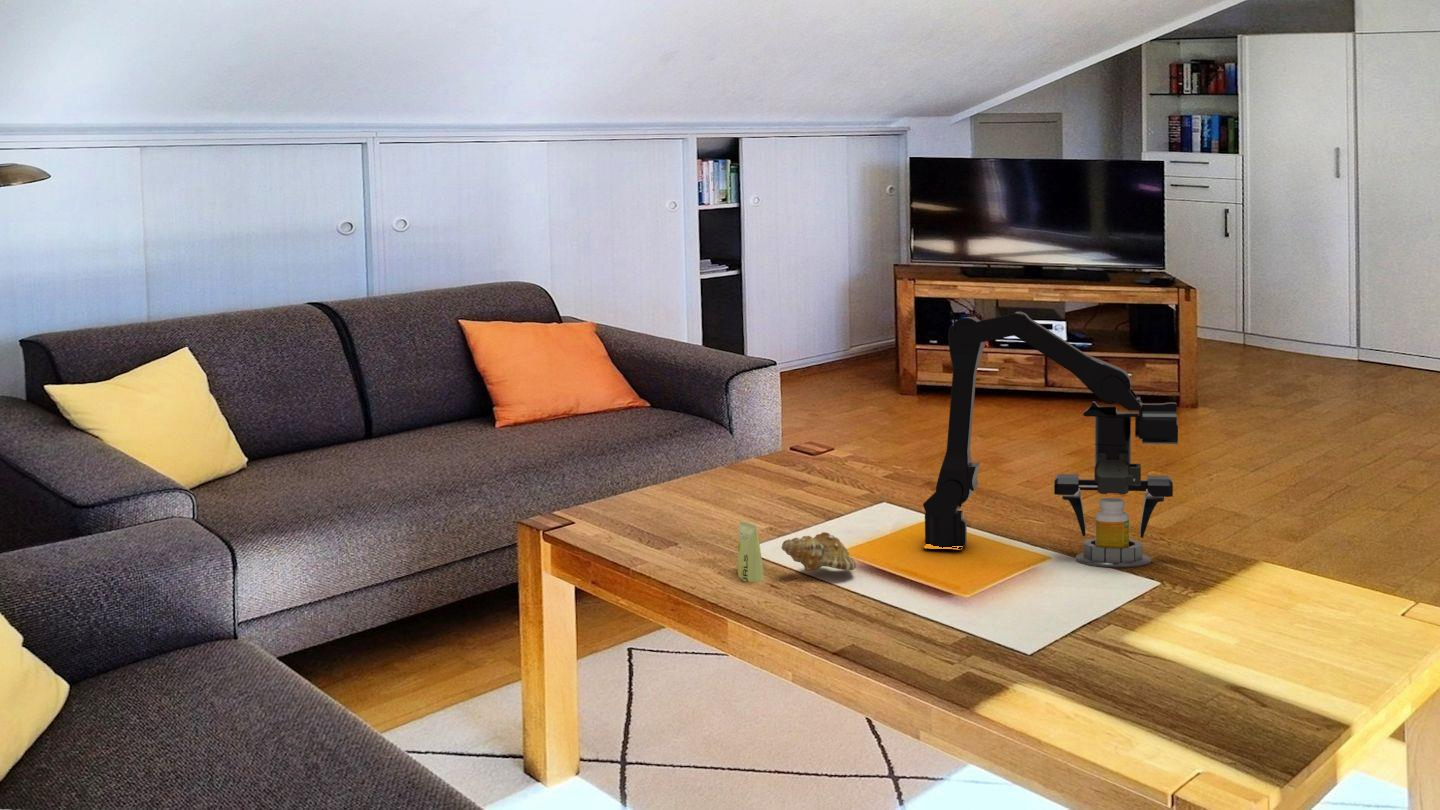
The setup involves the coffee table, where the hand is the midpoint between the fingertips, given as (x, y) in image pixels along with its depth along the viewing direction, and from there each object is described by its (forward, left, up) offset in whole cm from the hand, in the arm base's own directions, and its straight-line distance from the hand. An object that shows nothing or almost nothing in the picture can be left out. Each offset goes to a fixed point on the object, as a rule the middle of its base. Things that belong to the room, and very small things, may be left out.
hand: (1112, 536), depth 224 cm
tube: (-57, -21, -15) cm, 62 cm away
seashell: (-44, -17, -5) cm, 47 cm away
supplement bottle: (0, 0, -4) cm, 4 cm away
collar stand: (0, 0, -4) cm, 4 cm away
